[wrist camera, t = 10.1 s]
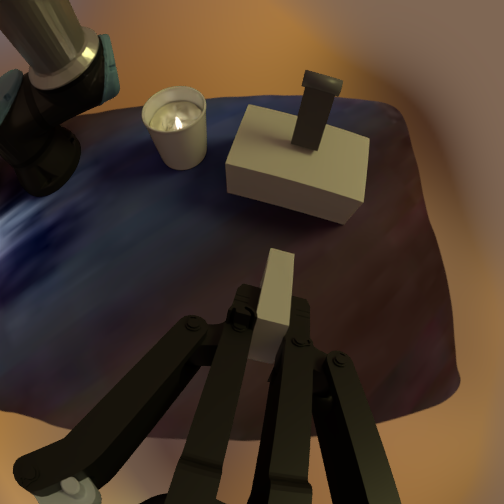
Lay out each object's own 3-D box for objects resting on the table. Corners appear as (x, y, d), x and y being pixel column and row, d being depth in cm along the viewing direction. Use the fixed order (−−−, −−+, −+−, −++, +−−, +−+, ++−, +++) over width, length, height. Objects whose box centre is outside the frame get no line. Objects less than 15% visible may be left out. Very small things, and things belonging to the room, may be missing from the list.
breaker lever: (286, 143, 41) (305, 71, 33) (288, 137, 43) (306, 68, 35) (320, 153, 41) (343, 82, 33) (321, 146, 43) (342, 78, 35)
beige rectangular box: (227, 192, 50) (225, 163, 41) (247, 136, 53) (249, 103, 45) (343, 224, 49) (363, 202, 41) (352, 165, 53) (369, 137, 44)
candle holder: (214, 130, 53) (210, 85, 42) (207, 175, 51) (200, 132, 39) (163, 130, 53) (149, 87, 42) (152, 174, 50) (134, 133, 39)
